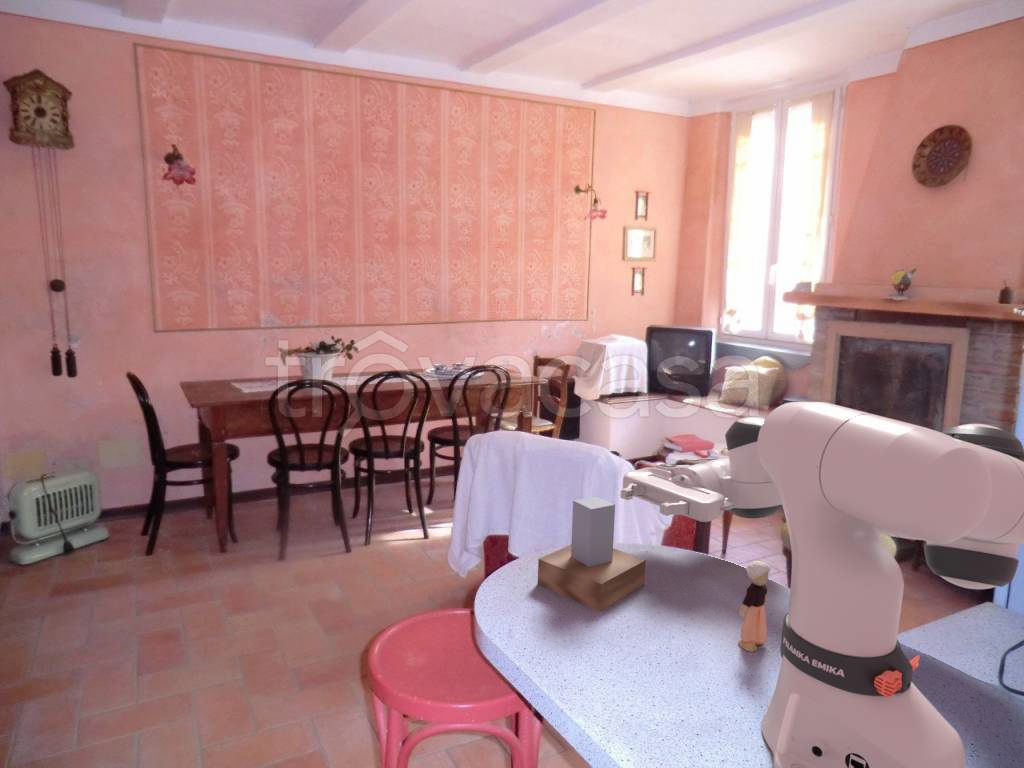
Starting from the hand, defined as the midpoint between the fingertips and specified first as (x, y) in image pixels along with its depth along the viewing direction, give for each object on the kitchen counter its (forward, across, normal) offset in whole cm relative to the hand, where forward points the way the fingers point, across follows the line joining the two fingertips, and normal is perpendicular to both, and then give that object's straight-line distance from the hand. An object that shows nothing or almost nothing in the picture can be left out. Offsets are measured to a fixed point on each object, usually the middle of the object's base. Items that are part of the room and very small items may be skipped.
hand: (642, 502), depth 123 cm
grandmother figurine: (+5, -27, -13) cm, 30 cm away
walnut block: (+12, 0, -13) cm, 18 cm away
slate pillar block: (+12, 0, -8) cm, 14 cm away
